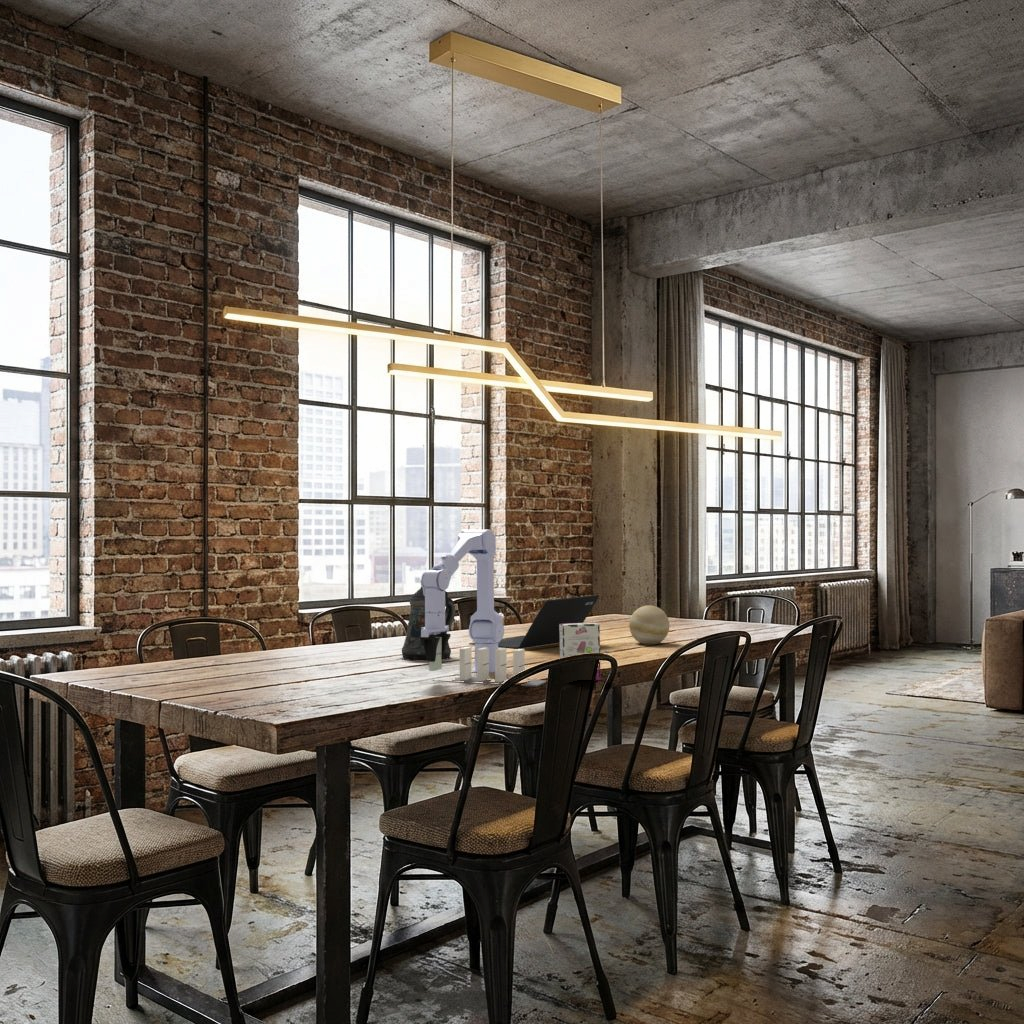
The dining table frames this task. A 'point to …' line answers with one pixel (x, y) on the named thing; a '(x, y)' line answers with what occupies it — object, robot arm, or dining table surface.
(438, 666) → the sage domino
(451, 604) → the beer stein
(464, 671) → the domino
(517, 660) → the domino
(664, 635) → the decorative ball
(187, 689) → the dining table surface
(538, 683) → the mat
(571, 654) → the candy bar box
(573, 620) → the laptop
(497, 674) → the domino
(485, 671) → the domino
